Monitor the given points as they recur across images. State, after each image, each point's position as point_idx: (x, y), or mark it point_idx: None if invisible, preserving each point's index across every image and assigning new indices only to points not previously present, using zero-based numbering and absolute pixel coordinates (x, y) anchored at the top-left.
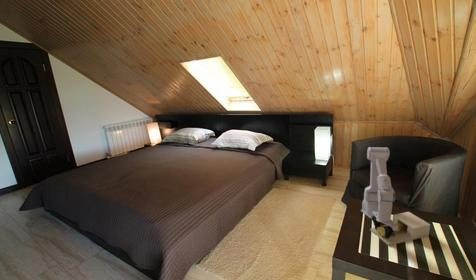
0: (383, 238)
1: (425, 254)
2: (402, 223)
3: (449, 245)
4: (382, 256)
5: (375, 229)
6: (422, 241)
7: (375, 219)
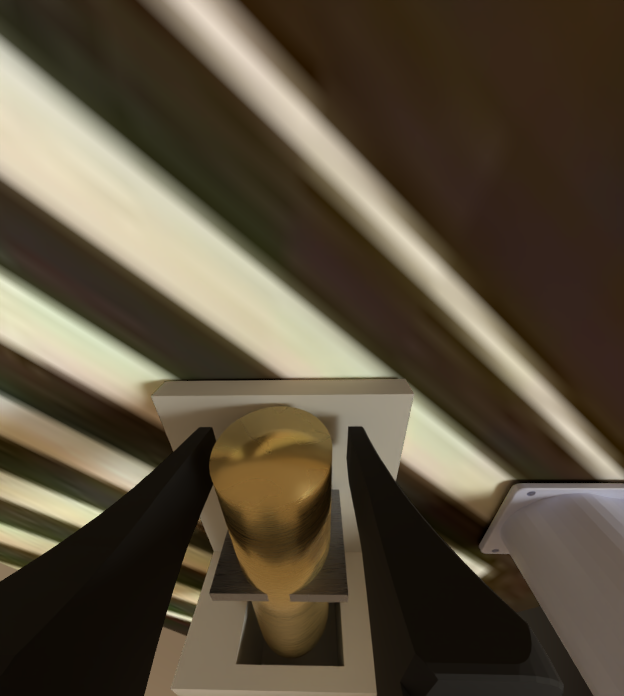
0: (231, 405)
1: (93, 509)
2: (285, 653)
3: (173, 598)
4: None
5: (360, 427)
6: (206, 554)
7: (415, 682)
